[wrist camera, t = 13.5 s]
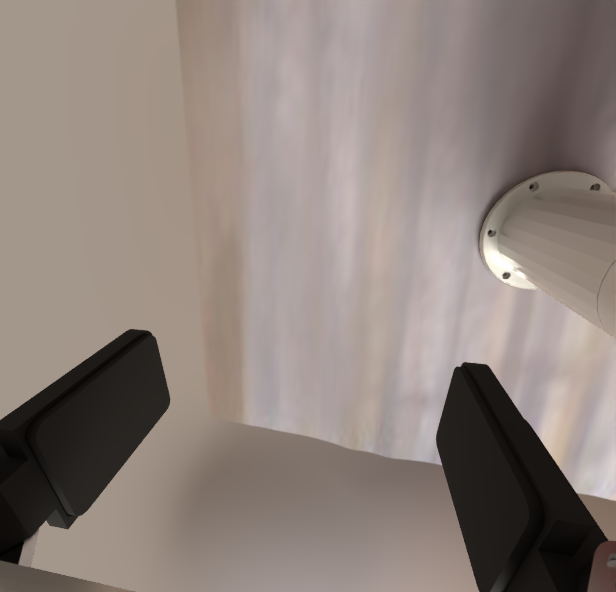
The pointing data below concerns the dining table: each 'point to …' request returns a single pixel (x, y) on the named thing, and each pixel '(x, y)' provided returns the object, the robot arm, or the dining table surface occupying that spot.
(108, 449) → the robot arm
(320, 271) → the dining table surface
